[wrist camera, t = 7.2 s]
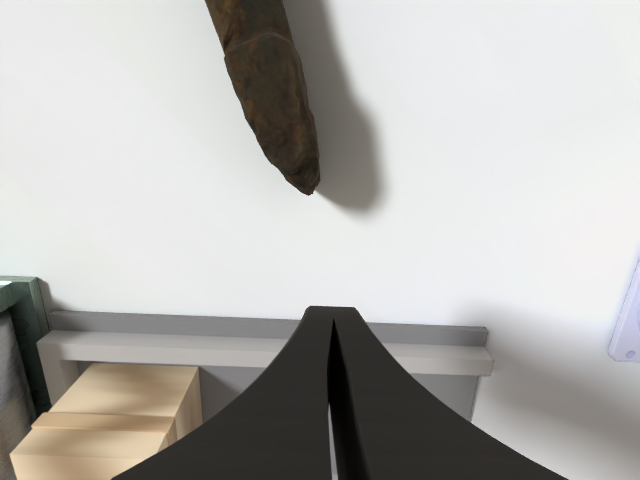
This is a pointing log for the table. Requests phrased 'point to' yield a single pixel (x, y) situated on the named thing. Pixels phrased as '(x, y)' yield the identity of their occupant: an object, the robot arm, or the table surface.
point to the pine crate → (110, 422)
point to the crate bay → (249, 353)
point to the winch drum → (20, 364)
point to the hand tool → (270, 85)
